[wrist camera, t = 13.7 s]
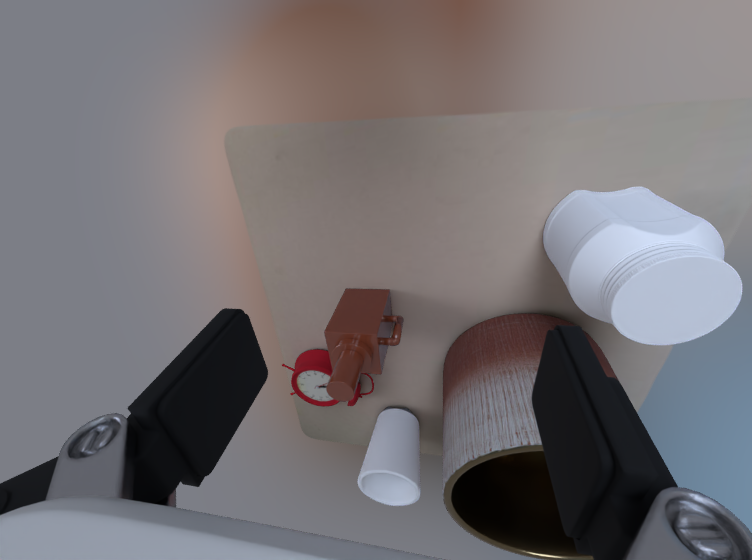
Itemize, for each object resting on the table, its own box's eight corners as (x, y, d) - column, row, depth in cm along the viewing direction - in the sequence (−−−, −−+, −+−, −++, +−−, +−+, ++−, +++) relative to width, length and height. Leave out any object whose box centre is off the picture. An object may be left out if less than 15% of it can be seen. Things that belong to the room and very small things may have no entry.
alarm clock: (275, 360, 54) (356, 384, 48) (298, 336, 59) (374, 355, 53) (289, 403, 59) (363, 429, 53) (308, 378, 64) (379, 399, 58)
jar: (670, 184, 34) (802, 244, 21) (643, 266, 39) (738, 355, 26) (548, 191, 36) (601, 248, 24) (537, 267, 41) (577, 349, 29)
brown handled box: (345, 288, 48) (305, 367, 35) (404, 289, 47) (386, 374, 33) (351, 323, 52) (317, 408, 38) (406, 326, 50) (391, 416, 36)
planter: (623, 312, 42) (739, 466, 25) (579, 422, 53) (639, 580, 36) (447, 302, 46) (445, 428, 29) (440, 406, 57) (436, 541, 41)
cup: (370, 397, 60) (353, 466, 49) (424, 402, 58) (419, 475, 47) (375, 432, 65) (361, 501, 54) (426, 437, 63) (421, 510, 52)
